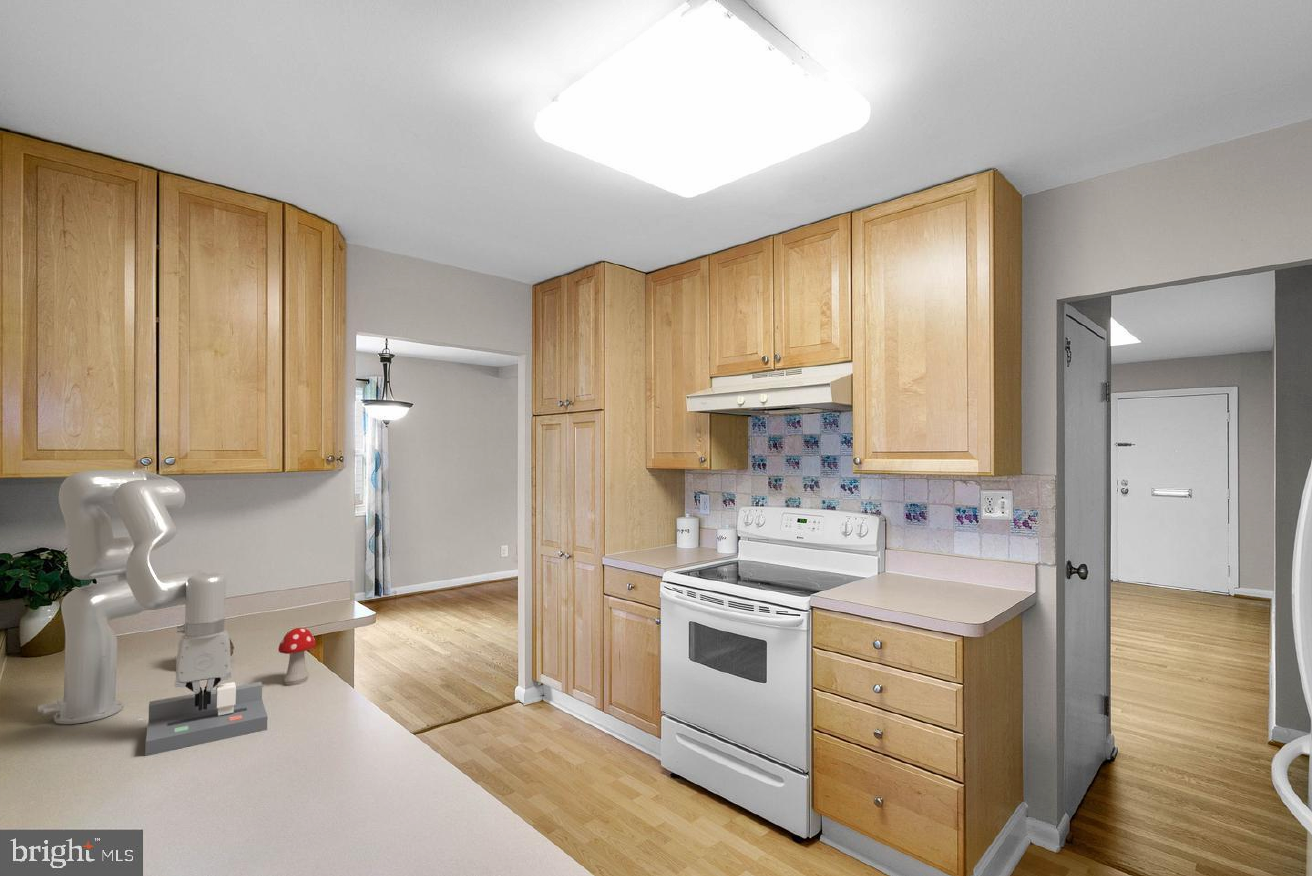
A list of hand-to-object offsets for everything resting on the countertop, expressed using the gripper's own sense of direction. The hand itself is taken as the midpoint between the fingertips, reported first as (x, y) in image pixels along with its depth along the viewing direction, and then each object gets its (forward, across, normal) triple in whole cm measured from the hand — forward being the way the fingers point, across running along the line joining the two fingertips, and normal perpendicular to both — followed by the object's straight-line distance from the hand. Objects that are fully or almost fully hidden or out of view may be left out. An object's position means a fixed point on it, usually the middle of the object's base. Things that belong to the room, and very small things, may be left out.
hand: (202, 708), depth 145 cm
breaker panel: (+5, +1, 0) cm, 5 cm away
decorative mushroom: (+5, +22, +24) cm, 33 cm away
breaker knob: (+2, +4, 0) cm, 5 cm away
